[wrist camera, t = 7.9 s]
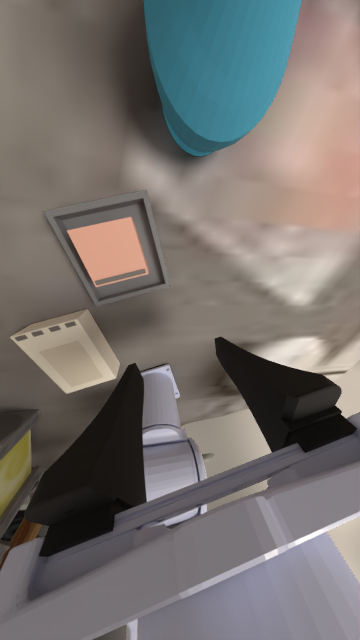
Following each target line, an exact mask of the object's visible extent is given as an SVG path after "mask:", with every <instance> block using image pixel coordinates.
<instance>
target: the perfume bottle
mask: <svg viewBox="0 0 360 640" xmlns="http://www.w3.org/2000/svg"><path fill="white" fill-rule="evenodd" d="M301 1H302V0H144V13H145V25H146V35H147V42H148V49H149V56H150V61H151V65H152V70H153V74H154V78H155V81H156V85H157V89H158V93H159V96H160V99H161V103H162V107H163V113H164V117H165V121H166V124H167V126H168V129H169V131H170V133H171V135H172V136H173V138H174V140H175V141H176V143H177V144H178V145H179V146H180V147H181V148H182V149H183V150H184V151H186V152H187V153H189V154H191V155H195V156H205V155H208V154H210V153H212V152H214V151H216V150H220V149H223V148H225V147H228V146H230V145H232V144H234V143H236V142H237V141H239V140H240V139H241V138H243V137H244V136H245V135H246V134H247V133H248V132H249V131H251V130H252V129H253V128H254V126H255V125H256V124H257V123H258V122H259V121H260V120H261V119H262V117H263V116H264V114H265V113H266V111H267V110H268V108H269V106H270V105H271V103H272V102H273V99H274V97H275V95H276V93H277V91H278V88H279V86H280V84H281V81H282V78H283V75H284V72H285V69H286V66H287V63H288V59H289V54H290V50H291V46H292V42H293V37H294V33H295V29H296V24H297V20H298V15H299V11H300V6H301Z"/></svg>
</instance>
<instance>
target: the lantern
mask: <svg viewBox="0 0 360 640" xmlns="http://www.w3.org/2000/svg"><path fill="white" fill-rule="evenodd" d="M39 420H40V410H31V411H20V412H9V413H0V539H1V537H2V536H3V534H4V533H5V531H6V529H7V528H8V526H9V525H10V523H11V522H12V520H13V518H14V517H15V515H16V514H17V512H18V510H19V509H20V507H21V506H22V504H23V503H24V501H25V499H26V498H27V496H28V495H29V493H30V500H31V498H32V496H33V494H34V492H35V490H36V488H37V486H38V484H39V482H40V481H39V482H38V483H37V484H36V485H35V483H36V482H37V480H38V479H39V477H40V476H41V466H36V467H31V428H32V427H33V426H34V425H35V424H36V423H37V422H38V421H39ZM34 485H35V486H34ZM41 525H42V524H37V523H33V522H30V521H27V520H26V519H25V517H24V519H23V521H22V523H21V524H20V526H19V528H18V529H17V531H16V533H15V534H14V536H13V538H12V540H11V541H10V543H7V542H5V541H2V540H0V571H1V569H2V567H3V565H4V562H5V560H6V558H7V556H8V554H9V552H10V550H11V549H12V548H13V547H16V546H18V545H21V544H24V543H26V542H29V541H31V540H34V539H35V537H36V535H37V533H38V531H39V529H40V527H41Z"/></svg>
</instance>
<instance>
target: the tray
mask: <svg viewBox="0 0 360 640" xmlns="http://www.w3.org/2000/svg"><path fill="white" fill-rule="evenodd" d="M43 212H44V213H45V215H46V217H47V219H48V221H49V222H50V224H51V226H52V228H53V230H54V231H55V233H56V235H57V237H58V239H59V241H60V242H61V244H62V246H63V248H64V250H65V251H66V253H67V255H68V257H69V259H70V260H71V262H72V264H73V266H74V268H75V269H76V271H77V273H78V275H79V277H80V278H81V280H82V282H83V284H84V286H85V288H86V289H87V291H88V293H89V295H90V297H91V298H92V300H93V302H94V304H95V306H96V307H97V306H101V305H104V304H108V303H112V302H115V301H119V300H123V299H127V298H130V297H134V296H138V295H141V294H145V293H149V292H153V291H156V290H160V289H164V288H167V287H171V285H170V281H169V277H168V273H167V269H166V265H165V261H164V257H163V253H162V249H161V245H160V241H159V237H158V233H157V229H156V225H155V221H154V217H153V213H152V209H151V205H150V201H149V197H148V193H147V190H143V191H138V192H133V193H128V194H124V195H119V196H114V197H109V198H104V199H99V200H95V201H90V202H85V203H80V204H75V205H70V206H66V207H61V208H56V209H51V210H46V211H43ZM127 217H131V218H132V220H133V222H134V224H135V226H136V229H137V232H138V236H139V239H140V242H141V246H142V249H143V252H144V256H145V259H146V262H147V265H148V269H149V274H147V275H143V276H139V277H135V278H131V279H127V280H123V281H119V282H115V283H111V284H107V285H103V286H99V287H95V285H94V283H93V281H92V279H91V277H90V275H89V273H88V271H87V269H86V267H85V265H84V263H83V261H82V259H81V258H80V256H79V254H78V252H77V250H76V248H75V246H74V244H73V242H72V240H71V238H70V236H69V234H68V232H67V230H72V229H76V228H81V227H86V226H90V225H95V224H99V223H104V222H109V221H113V220H118V219H123V218H127Z"/></svg>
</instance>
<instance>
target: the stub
mask: <svg viewBox="0 0 360 640" xmlns="http://www.w3.org/2000/svg"><path fill="white" fill-rule="evenodd" d="M67 232H68V234H69V236H70V238H71V240H72V242H73V244H74V246H75V248H76V250H77V252H78V254H79V256H80V258H81V259H82V261H83V263H84V265H85V267H86V269H87V271H88V273H89V275H90V277H91V279H92V281H93V283H94V285H95V287H99V286H103V285H107V284H111V283H115V282H119V281H123V280H127V279H131V278H135V277H139V276H143V275H147V274H149V269H148V265H147V262H146V259H145V256H144V252H143V249H142V246H141V242H140V239H139V236H138V232H137V229H136V226H135V224H134V222H133V220H132V218H131V217H127V218H123V219H118V220H113V221H109V222H104V223H99V224H95V225H90V226H86V227H81V228H76V229H72V230H67Z"/></svg>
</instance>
